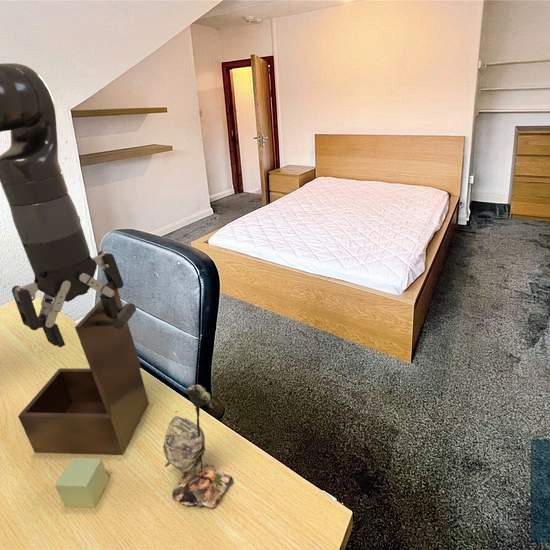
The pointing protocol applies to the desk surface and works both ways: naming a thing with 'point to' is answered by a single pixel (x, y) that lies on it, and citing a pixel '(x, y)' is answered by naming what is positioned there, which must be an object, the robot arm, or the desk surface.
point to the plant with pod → (193, 457)
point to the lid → (110, 351)
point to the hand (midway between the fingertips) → (86, 330)
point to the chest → (81, 415)
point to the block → (82, 482)
